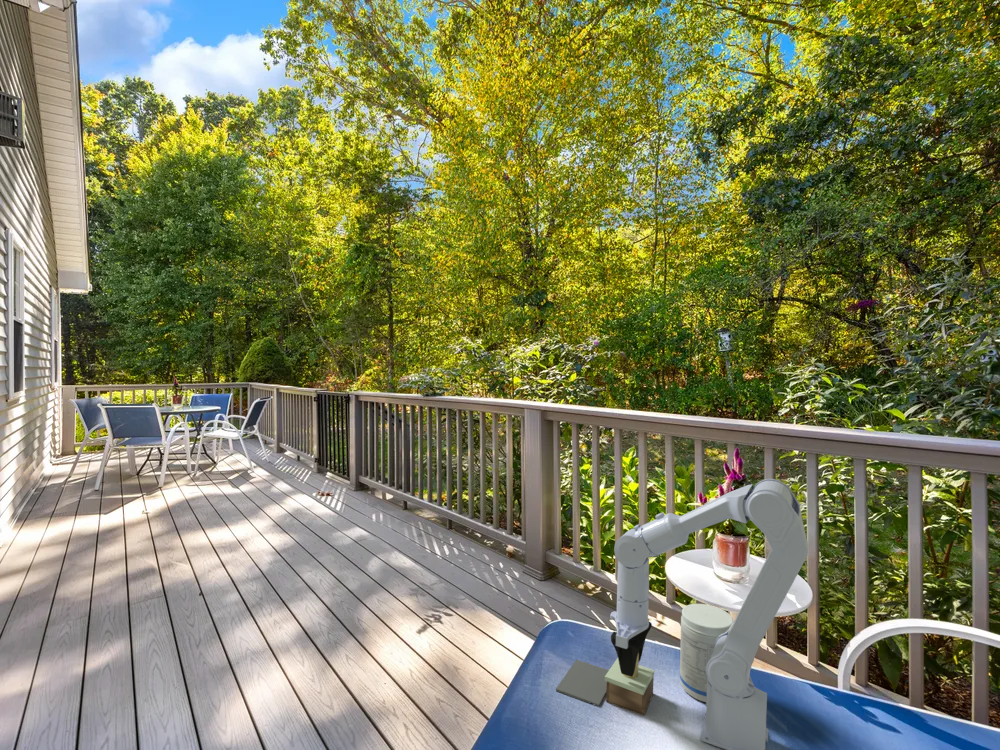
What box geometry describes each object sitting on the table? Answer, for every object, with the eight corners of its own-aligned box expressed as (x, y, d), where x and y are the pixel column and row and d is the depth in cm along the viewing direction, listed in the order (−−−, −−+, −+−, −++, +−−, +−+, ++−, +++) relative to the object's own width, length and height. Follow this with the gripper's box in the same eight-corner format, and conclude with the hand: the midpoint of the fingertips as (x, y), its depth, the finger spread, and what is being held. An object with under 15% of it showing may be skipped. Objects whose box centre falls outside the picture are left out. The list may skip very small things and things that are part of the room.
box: (653, 694, 95) (653, 674, 95) (644, 717, 89) (645, 695, 89) (616, 682, 98) (617, 662, 98) (606, 703, 92) (606, 682, 92)
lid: (654, 678, 95) (655, 649, 95) (643, 699, 89) (644, 668, 89) (617, 665, 99) (618, 637, 98) (604, 684, 93) (605, 655, 92)
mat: (616, 674, 100) (616, 672, 100) (598, 706, 91) (598, 704, 91) (576, 661, 105) (576, 659, 105) (555, 690, 95) (555, 688, 95)
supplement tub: (695, 668, 103) (697, 598, 103) (741, 692, 96) (744, 616, 95) (669, 686, 97) (671, 612, 97) (716, 713, 90) (719, 633, 89)
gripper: (622, 576, 101) (620, 642, 102) (599, 606, 89) (597, 681, 89) (657, 584, 98) (655, 652, 98) (639, 616, 85) (637, 694, 86)
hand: (630, 667), depth 93 cm, fingers open, 4 cm apart
